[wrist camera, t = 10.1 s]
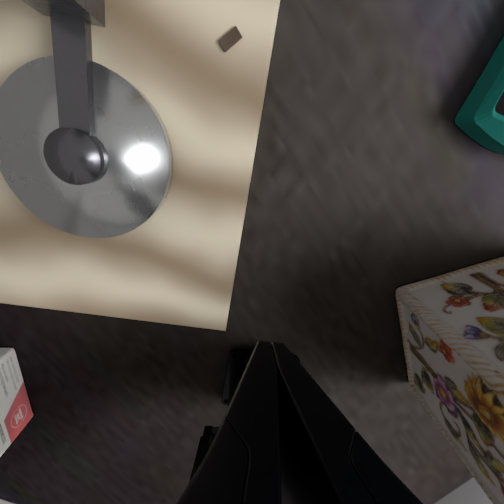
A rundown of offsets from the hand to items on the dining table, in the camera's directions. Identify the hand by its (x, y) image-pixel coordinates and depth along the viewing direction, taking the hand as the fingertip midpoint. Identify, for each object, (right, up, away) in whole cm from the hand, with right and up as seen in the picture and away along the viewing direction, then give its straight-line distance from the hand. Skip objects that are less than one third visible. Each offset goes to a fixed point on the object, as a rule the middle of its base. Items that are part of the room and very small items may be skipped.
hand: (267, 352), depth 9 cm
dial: (-10, +11, +7) cm, 17 cm away
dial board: (-11, +10, +10) cm, 17 cm away
